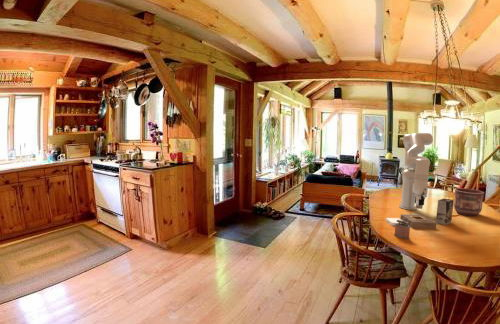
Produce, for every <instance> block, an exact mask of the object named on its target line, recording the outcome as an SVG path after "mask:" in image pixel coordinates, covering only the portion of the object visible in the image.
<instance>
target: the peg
mask: <svg viewBox="0 0 500 324" xmlns="http://www.w3.org/2000/svg"><path fill="white" fill-rule="evenodd" d="M421 195H423V194H421ZM421 197H422V196H421ZM419 199H420V195H418V194H416V203H415V208H417V209H418V210H419V209H421V210H423V206H424V205H419Z"/></svg>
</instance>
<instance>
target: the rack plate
mask: <svg viewBox="0 0 500 324" xmlns="http://www.w3.org/2000/svg"><path fill="white" fill-rule="evenodd" d="M399 219H401V220H402V221H405V222H408V226H410V228H411V229H437V225H438V223H436V220H432V219H431V218H429V217H427V216H426V215H424V214H407V213H406V214H404V213H403V214H401V213H400V218H399Z"/></svg>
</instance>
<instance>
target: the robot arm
mask: <svg viewBox="0 0 500 324" xmlns="http://www.w3.org/2000/svg"><path fill="white" fill-rule="evenodd" d="M433 137H434V136H433V135H432V134H431V133H430V132H429V133H428V132H415V133H407V134H404V135H403V138H402V143H403V146H404V151H405V154H404V155H405V156H404V164H405V167H406V168H409V169H404V170H403V171H402V174H401V176H402V186H401V187H402V188H401V189H402V190H401V201H400V204H399V205H398V207H399V208H400V209H403V210H410V211H415V210H417V209H418V208H415V206H416V194H418V195H420V199H419V205H423V206H424V205H425V200H426V198H427V197H428V189H429V187H428V186H429V172H430V165H431V161H430V159H429V158H428V157H426V156H419V155H420V154H422V153H424V151H425V150H426V149H425V148H426V147H425V146H429V145H432V143H433V141H434V138H433ZM421 194H423V195H421ZM421 196H422V197H421Z"/></svg>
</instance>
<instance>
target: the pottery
mask: <svg viewBox="0 0 500 324" xmlns="http://www.w3.org/2000/svg"><path fill="white" fill-rule="evenodd" d="M484 196H485V191H482V190H479V189H473V188H455V189H454V202H453V208H454V211H455V212H456V213H457V214H459V215H463V216H467V217H469V216H470V217H476V216H478V215H479V214H480V213H481V212H482V209H483V202H484V198H485V197H484Z"/></svg>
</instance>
